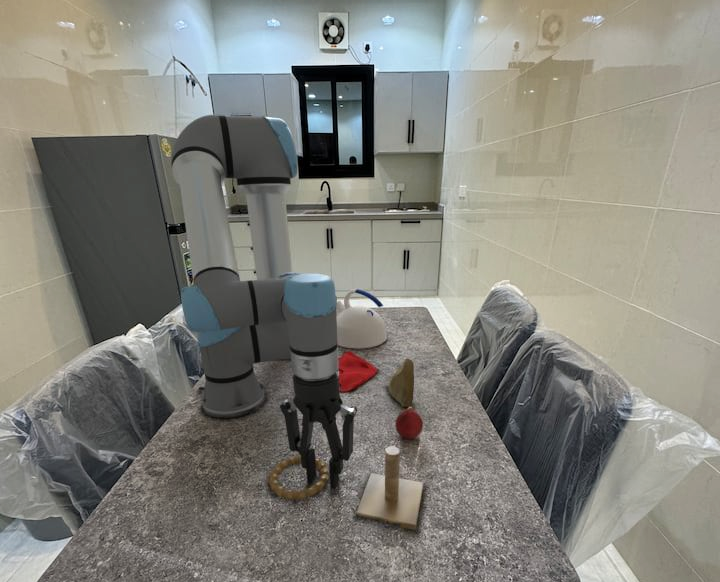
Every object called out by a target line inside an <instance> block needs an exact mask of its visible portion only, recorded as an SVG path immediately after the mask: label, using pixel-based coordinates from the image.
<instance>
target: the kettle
mask: <svg viewBox="0 0 720 582" xmlns="http://www.w3.org/2000/svg"><path fill="white" fill-rule="evenodd" d="M354 294H358V295H361V296H364V297H366V298H368V299H369V300H370V301H372V302H373V303H374V304H375V305H376V307H378V308H382V307H384V304H383V303H382V302H381V301H380V300H379V299H378V298H377V297H376V296H375V295H373V294H371V293H369V292H367V291H365V290H362V289H358V288H357V289H351V290H350V291H348V292H347V293H346V295H345V296H344V299H343V302H342V300H337V305H336V312H337V313H338V315H336V316H337V345H338V347H341V348H346V349H353V350H361V349H369V348H374V347H378V346H379V345H382V344H383V343H385V341H386V340H387V339H388V337H387V330H386V329H387V327H386V323H385V322H384V319H383V318H382V317H381V315H380V314H379V313H378V312H377V311H375V310H374V309H372V308H371V307H368V306H363V305H354V306H353V305H352V306H351V304H350V299H351V296H352V295H354Z"/></svg>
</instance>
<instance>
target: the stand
mask: <svg viewBox="0 0 720 582" xmlns="http://www.w3.org/2000/svg"><path fill="white" fill-rule="evenodd" d="M384 454H385V455H384V474H379V473H373V472H370V475H369V476H368V480H367V482H366V485H365V488H364V491H363V493H362V495H361V498H360V502H359V505H358V507H357V509H356V511H355V512H356V513H355V515H356V516H360V517H366V518H370V519H374V520H379V521H385V522H389V523H394V524H398V525H400V528H402V529H408V530H411V531H416V530H417V525H418V519H419V513H420V507H421V503H422V496H423V492H424V491H423V490H424V482H423V481H418V480H411V479H406V478H401V477H400V458H401V450H400V448H399V447H398V446H395V445H390V446H387V447H386V448H385V450H384Z"/></svg>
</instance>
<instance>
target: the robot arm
mask: <svg viewBox="0 0 720 582" xmlns="http://www.w3.org/2000/svg"><path fill="white" fill-rule="evenodd" d="M170 164H171V170H172V171H171V173H172V176H173V180H174V181H175V182H176V184H177V185H179V188H180V195H181V196H180V197H181V203H182V209H183V217H184V224H185V232H186V238H187V244H188V245H187V246H188V253H189V260H190V269H191V275H192V283H193V284H190V285H189V286H188V285H187V286H183V287H182V288H181V290H180V300H181V301H180V302H181V307H182V313H183V318H184V322H185V324H186V327H187V329H188V330H189V331H191V332H193V333H196V336H197V346H198V347H199V352H200V357H201V363H202V368H203V374H204V377H205V382H204V386H199V387H198V390H199V391H203V395H202V400H201V404H202V408H203V411H204V412H205V414H206V415H208V416H210V417H214V418H218V419H233V418H237V417H242V416H245V415H248V414H250V413H252V412H253V411H254V410H256V409H257V408H260V407H261V406H262V405H263V404H264V402H265V384H264V383H262V382H260V381H259V379H258V377H257V375H256V373H255V370H254V364H260V363H261V364H262V363H265V362H272V361H279V360H288V359H287V358H291V359H290V362H291V371H292V373H293V374H292V384H293V393H294V397H293V398H291V397H289V396H288V397H286V398H285V399H284V400H283V401H282V402H281V404H280V405H279V409H280V410H281V412H282V414H283V416H284V422H285V429H286V435H287V442H288V447H289V450H290V451H291V452H292V453H293V452H294V453H295V452H298V454H299V456H301V463H300V464H301V467H302V469H305V473H306V483H307V484H309V485H312V484H313V482H314V480H315V478H316V476H317V475H318V473H317V467H316V461H315V457H316V450H315V448H312V447H311V446H312V445H313V443H312V438H313V433H314V432H313V431H314V425H315V423H318V424H321V428H322V430H323V431H324V432H325V436H326V440H327V443H328V446H329V450H330V453H331V457H330V459H329V461H328V470H329V486H330V489H334V490H335V488H336V486H337V484H338V482H339V480H340V475H341V474H342V471H343V470H344V461H345V462H347V461H349V460H350V458H351V456H352V454H353V451H354V427H355V426H354V424H355V416H356V414H357V412H358V407H357V406H356V405H355V406H354V405H352V406H351V407H350V406H348V405H346V404H344V402H343V400H342V397H341V396H340V389H341V386H340V384H339V372H338V371H339V369H340V368H339V363H338V358H339V348H338V347H339V346H338V345H337V316H338V315H337V309H336V305H337V302H338V298H337V297H338V296H337V294H336V286H335V281H334V280H333V278H332V277H331V276H329V275H328V274H321V273H310V272H309V273H299V272H297V271H293V263H292V252H291V243H290V242H291V241H290V232H289V221H288V213H287V212H288V211H287V201H286V194H287V192H288V191H289V190H290V188H291V187H292V181H291V179H294V178H296V176H297V174H298V157H297V151H296V145H295V141H294V137H293V135H292V131H291V129H290V127H289V125H288V123H286V121H285V120H283V119H282V118H279V117H271V116H266V115H260V116H258V115H223V114H221V115H219V114H207V115H203V116H200V117H198V118H196V119H193V121H191V122H190V123H189V124H187V125H186V126H185V127H184V128H183V129H182V131H181V132H180V133H179V135H178V136H177V138H176V140H175V141H174V145H173V147H172V151H171V157H170ZM226 179H236V186H237V189H239V191H241V193H243V194H244V195H245V198H246V207H247V214H248V221H249V222H248V223H249V230H250V236H251V237H250V238H251V245H252V253H253V261H254V269H255V275H256V276H255V277H256V279H251V280H241V277H240V272H239V267H238V262H237V256H236V251H235V247H234V241H233V235H232V231H231V225H230V221H229V216H228V210H227V206H226V205H227V204H226V200H225V193H224V189H223V184H224V183H225V180H226ZM297 410H298V411H299V412H300V413H301V415H302V420H301V426H302V427H301V431H300V424H299V417H298V411H297ZM338 413H340V415H341V420H342V422H343V423H342V440H341V436H340V432H339V428H338V425H337V414H338Z"/></svg>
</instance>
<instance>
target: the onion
mask: <svg viewBox="0 0 720 582" xmlns="http://www.w3.org/2000/svg"><path fill="white" fill-rule="evenodd" d="M394 424H395V430H396V432H397V434H398V435H399V436H401V438H404V439H407V440H408V439H409V440H410V439H413V438H416V437H418V436H419V435H420V434H421V433H422V430H423V427H424V422H423V419H422V417H421V415H420V414H419V413H418V412H417V411H415V410H414V407H413V406H411V407H407V409H404V410H402V411H401V412H400V413H399V414H398V415H397V417H396V419H395V423H394Z"/></svg>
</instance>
